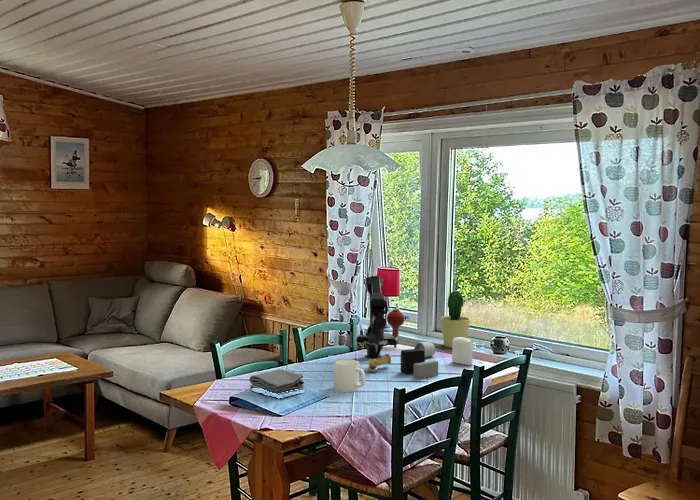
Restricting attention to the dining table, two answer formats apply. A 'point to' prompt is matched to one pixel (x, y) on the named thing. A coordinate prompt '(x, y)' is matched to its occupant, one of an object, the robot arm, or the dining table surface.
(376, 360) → the gold bone
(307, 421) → the dining table surface
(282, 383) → the towel
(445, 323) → the potted cactus
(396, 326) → the lantern
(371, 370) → the grey round base
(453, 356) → the white rounded block
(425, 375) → the socket block
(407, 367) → the electronic device
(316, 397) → the dining table surface
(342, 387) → the mug
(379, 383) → the dining table surface
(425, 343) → the ceramic mug
